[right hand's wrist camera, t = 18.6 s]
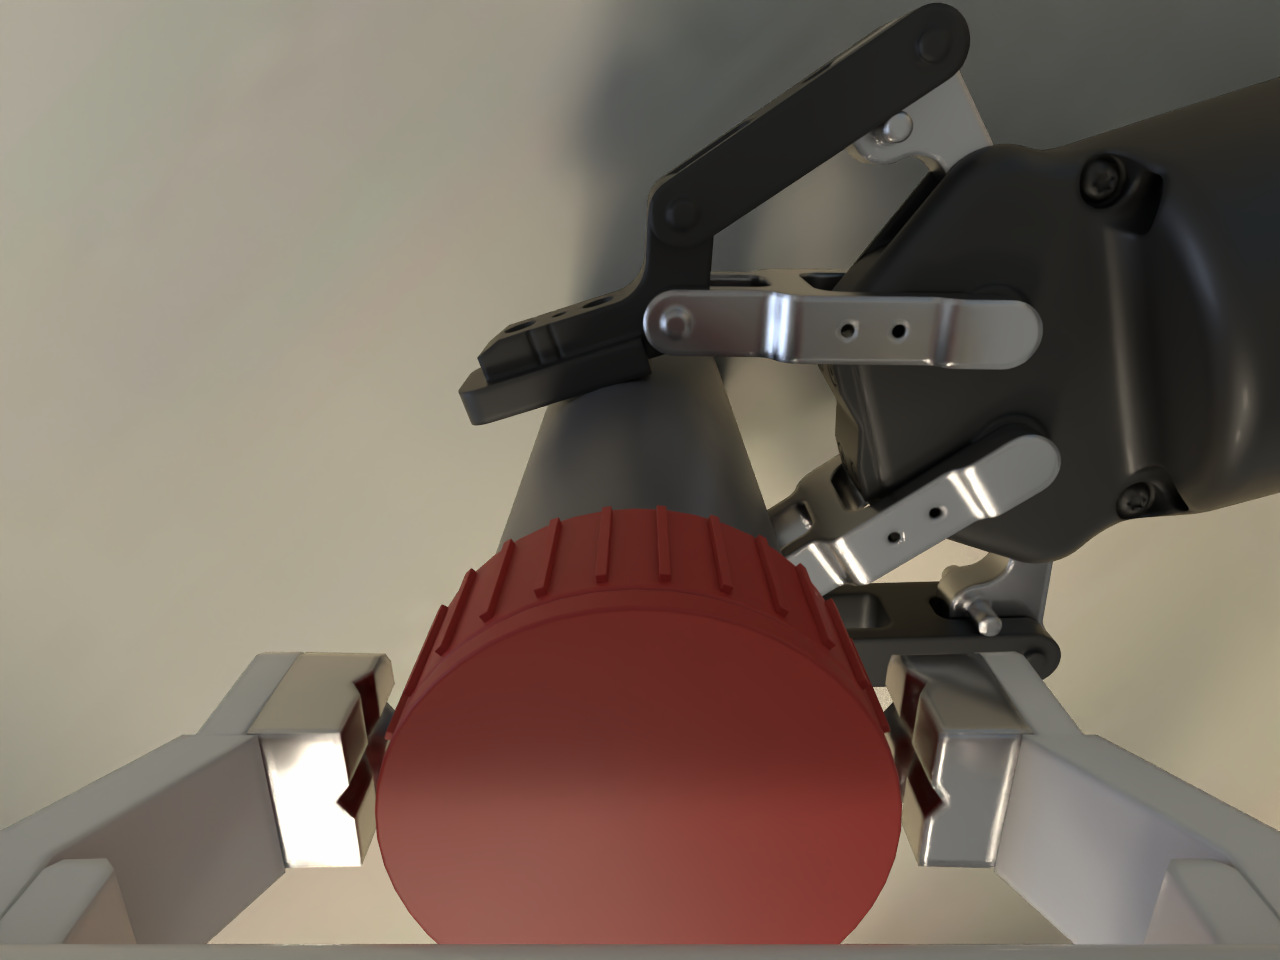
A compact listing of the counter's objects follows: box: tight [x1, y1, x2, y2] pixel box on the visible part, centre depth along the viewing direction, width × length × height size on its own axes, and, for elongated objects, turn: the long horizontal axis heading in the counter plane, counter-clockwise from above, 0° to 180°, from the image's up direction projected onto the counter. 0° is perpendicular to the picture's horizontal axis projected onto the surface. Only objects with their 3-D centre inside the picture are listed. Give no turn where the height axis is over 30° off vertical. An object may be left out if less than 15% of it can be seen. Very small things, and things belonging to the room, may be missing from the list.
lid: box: [375, 505, 902, 944], centre depth 9 cm, size 5×5×2 cm
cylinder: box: [496, 354, 783, 556], centre depth 16 cm, size 4×4×16 cm
